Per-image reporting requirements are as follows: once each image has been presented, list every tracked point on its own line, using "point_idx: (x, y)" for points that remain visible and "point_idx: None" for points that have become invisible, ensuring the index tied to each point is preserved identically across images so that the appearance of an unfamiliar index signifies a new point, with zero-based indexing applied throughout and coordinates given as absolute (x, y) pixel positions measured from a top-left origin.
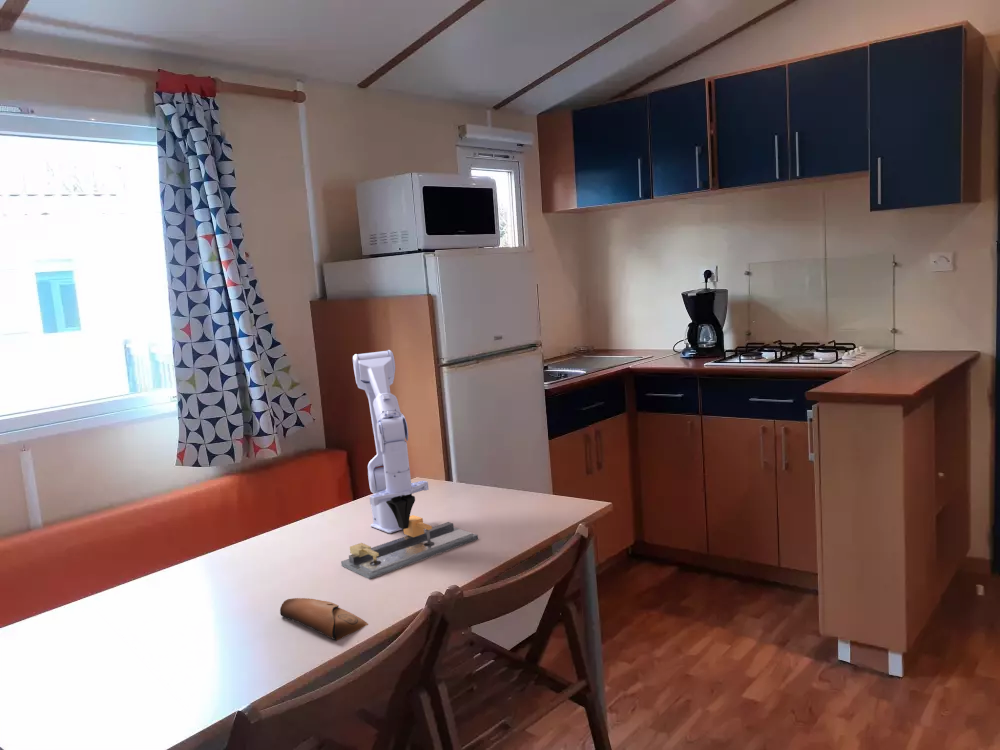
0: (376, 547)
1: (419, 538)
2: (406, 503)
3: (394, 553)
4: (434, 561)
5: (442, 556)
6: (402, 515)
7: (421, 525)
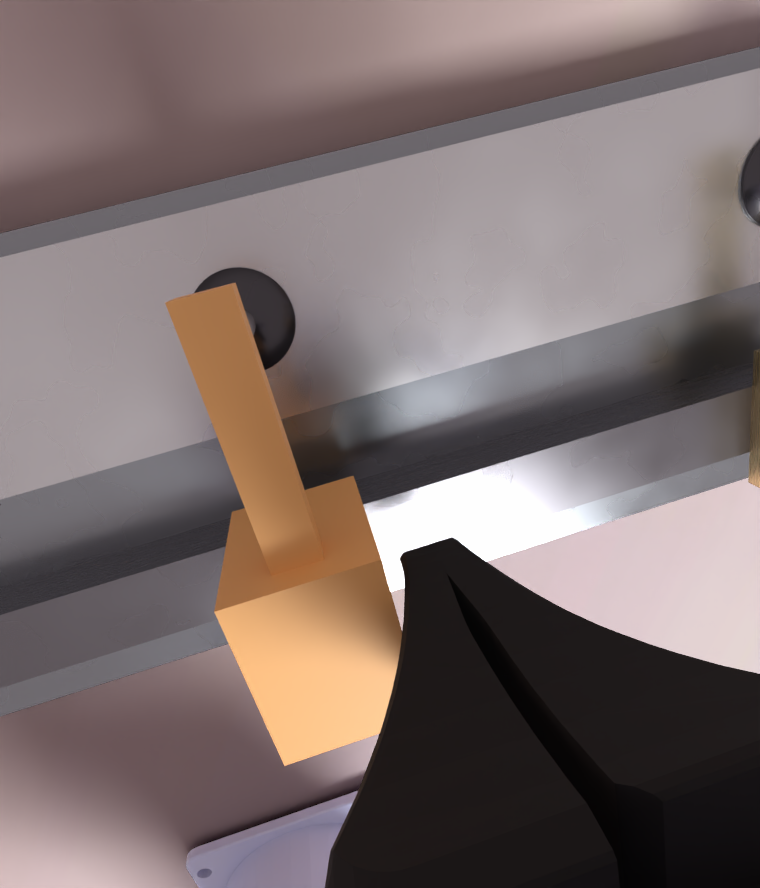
0: (665, 454)
1: None
2: (557, 777)
3: (574, 303)
4: (289, 3)
5: (178, 85)
6: (541, 610)
7: (285, 438)
